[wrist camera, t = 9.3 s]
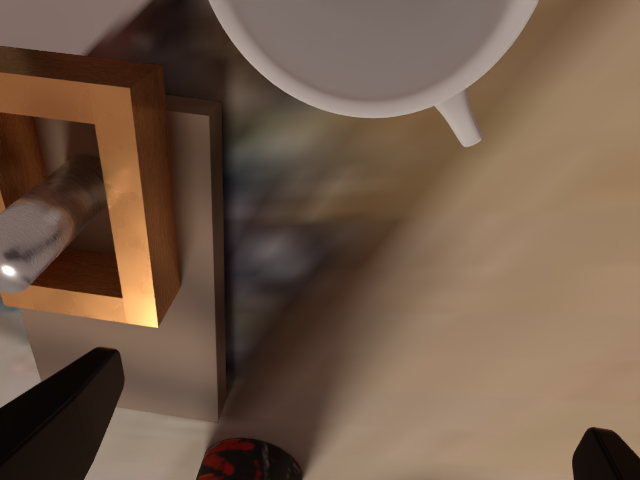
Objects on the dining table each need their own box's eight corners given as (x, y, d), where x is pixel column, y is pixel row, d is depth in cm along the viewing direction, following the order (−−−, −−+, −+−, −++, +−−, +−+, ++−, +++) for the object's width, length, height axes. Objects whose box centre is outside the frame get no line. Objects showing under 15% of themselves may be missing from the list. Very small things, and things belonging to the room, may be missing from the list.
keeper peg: (121, 206, 20) (38, 297, 15) (70, 198, 20) (-28, 288, 15) (114, 157, 18) (22, 240, 14) (60, 150, 19) (-49, 230, 14)
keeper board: (226, 399, 27) (218, 423, 26) (61, 373, 28) (45, 395, 26) (221, 101, 18) (209, 115, 17) (-20, 71, 19) (-49, 82, 18)
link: (181, 286, 21) (158, 327, 19) (41, 266, 22) (3, 305, 20) (162, 65, 16) (129, 88, 14) (-18, 43, 17) (-76, 63, 15)
